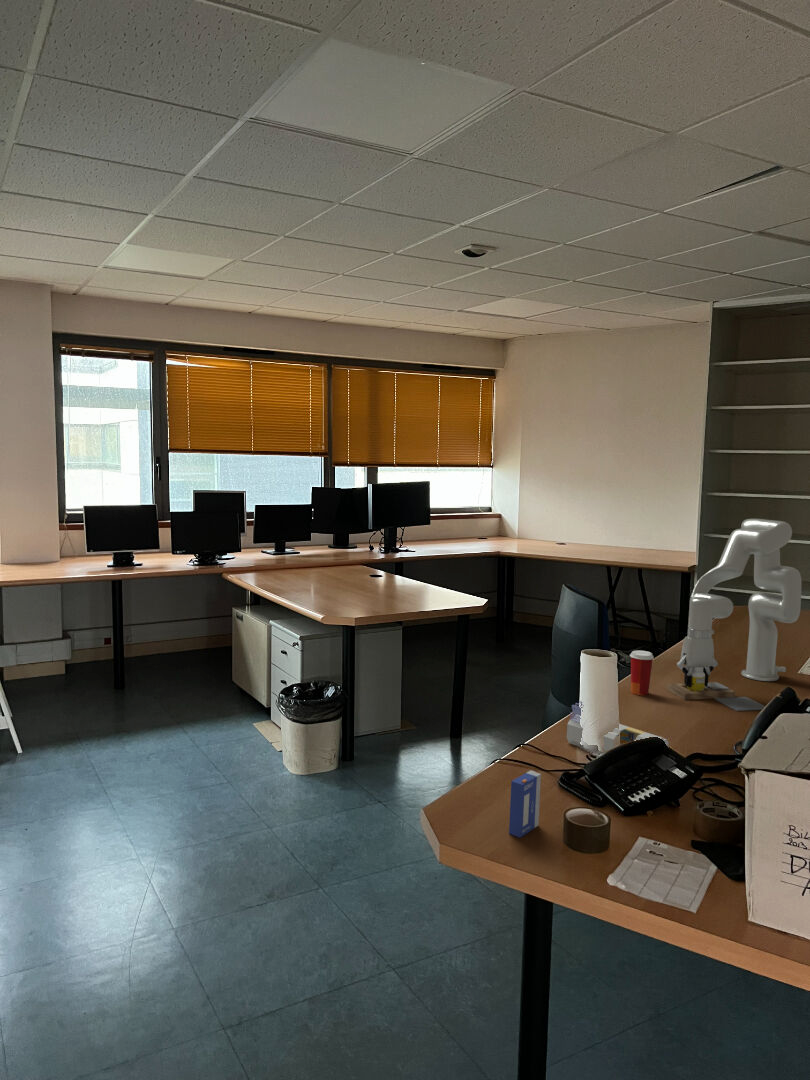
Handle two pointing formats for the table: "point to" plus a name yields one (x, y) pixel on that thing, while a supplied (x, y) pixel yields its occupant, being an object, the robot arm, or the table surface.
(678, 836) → the table surface
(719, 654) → the table surface
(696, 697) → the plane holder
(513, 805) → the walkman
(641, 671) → the paper cup
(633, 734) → the diorama
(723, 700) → the rubber mat
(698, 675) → the supplement bottle
